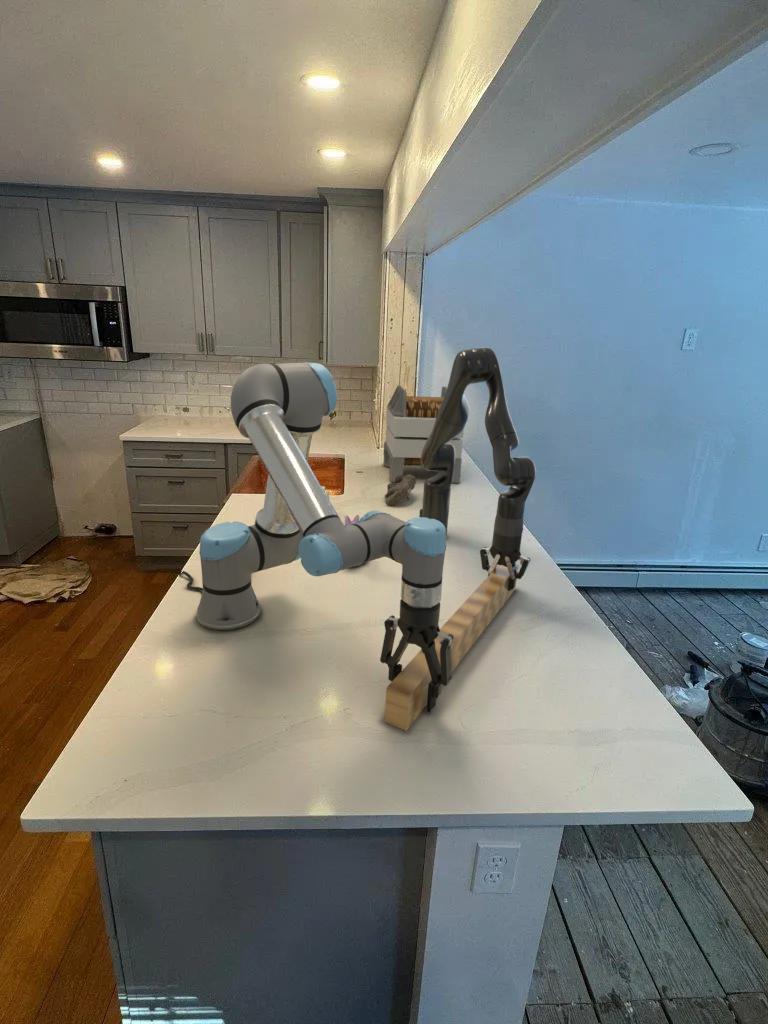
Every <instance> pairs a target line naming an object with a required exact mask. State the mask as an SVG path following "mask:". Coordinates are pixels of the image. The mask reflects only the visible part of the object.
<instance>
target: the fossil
mask: <svg viewBox="0 0 768 1024" xmlns="http://www.w3.org/2000/svg"><path fill="white" fill-rule="evenodd" d="M416 483H417V479H416V476H415V475H412V474H411V473H409V474H406V475H404V474H403V475H397V476H396V478H395V482H389V483H388V484H387V485H386V489H387V491H386V493H385V494H384V498H385V500H384V502H385V504H386V506H396V505H399V504H400V503H402V501H404V500H405V499H406V498H407V499H408V500H409V499H410V498H409V495H410V494H411V492H412V491H413V490H414V489H415V487H416Z"/></svg>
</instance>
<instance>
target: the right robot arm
mask: <svg viewBox="0 0 768 1024" xmlns="http://www.w3.org/2000/svg"><path fill="white" fill-rule="evenodd" d="M480 383H485V384H486V386H487V389H488V396H489V397H488V403H487V408H486V411H485V415H484V416H485V417H484V426H485V431H486V434H487V436H488V439H489V442H490V445H491V448H492V459H493V460H492V461H493V472H494V476H495V478H496V480H497V481H498V482H499V483H500V484H501V485H502V486H506V487H509V488H508V489H506V490H504V491H503V492H501V493H499V495H498V499H497V507H496V514H495V518H494V523H493V531H492V540H491V542H492V543H491V547H487V546H483V547H482V548H481V549H479V555H480V562H481V568H482V570H483V571H487V572H488V574H487V577H488V576H489V575H490V574H491V573H492V572H493V571H494V570H495V569H496V567H497V566H498V565H503V566H505V567H507V568H508V572H509V574H510V579H509V586H508V591H511V590H513V589H514V587H515V583H516V584H517V582H516V579H517V580H521V579H522V578H523V576H524V575H525V573H526V571H527V569H528V566H529V565H530V562H531V558H530V557H525V556H523V555H522V553H521V544H522V536H523V531H524V515H525V507H526V501H527V499H528V497H529V494H530V492H531V490H532V487H533V486H534V482H535V480H536V475H537V469H536V464H535V462H534V460H533V459H531V457H529V456H515V457H512V455H511V452H512V451H514V450H515V449H517V448H518V447H519V445H520V440H519V437H518V434H517V430H516V428H515V426H514V423H513V420H512V417H511V413H510V410H509V407H508V402H507V397H506V392H505V386H504V382H503V376H502V372H501V367H500V362H499V359H498V357H497V354H496V352H495V350H494V349H492V348H491V347H488V346H481V347H474V348H467V349H462V350H460V351H458V353H456V356H455V357H454V360H453V362H452V367H451V371H450V375H449V379H448V384H447V386H446V387H447V390H446V393H445V396H444V399H443V402H442V404H441V406H440V409H439V411H438V414H437V417H436V420H435V423H434V426H433V429H432V431H431V433H430V435H429V437H428V439H427V441H426V443H425V445H424V447H423V450H422V453H421V465H422V466H421V467H422V468H423V470H426V471H428V472H429V471H430V472H438V473H436V474H435V475H433V476H431V477H429V478H427V479H425V480H424V482H423V493H422V496H423V497H422V506H421V508H420V509H419V516H418V518H419V517H425V518H429V519H435V520H438V521H440V522H441V523H442V524H443V525H444V526H445V529H446V539H447V538H448V525H449V517H450V516H449V514H450V504H451V494H452V493H451V491H452V484H453V483H452V479H453V471H454V464H455V449H454V446H453V445H452V444H450V443H447V442H449V441H450V440H452V439H453V438H455V437H456V436H457V435H459V434H460V433H461V432H462V431H463V429H464V430H465V427H466V425H467V423H468V420H469V418H470V416H471V406H470V403H469V401H468V399H467V397H466V395H465V391H466V390H467V388H468V386H470V385H474V384H480ZM344 526H345V524H344ZM489 555H491V557H492V559H493V560H492V562H491V564H490V561H489ZM518 561H519V564H520V569H519V570H518V573H517V571H516V564H517V563H516V562H518Z"/></svg>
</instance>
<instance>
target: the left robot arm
mask: <svg viewBox="0 0 768 1024" xmlns="http://www.w3.org/2000/svg"><path fill="white" fill-rule="evenodd" d="M337 403H338V390H337V386H336V382H335V381H334V377H333V375H332V373H331V372H330V371H329V370H328V368H326V366H324V365H323V364H321V363H318V362H307V361H302V362H285V363H258V364H255V365H252V366H250V367H249V368H247V369H245V370H244V371H243V372H242V373H241V374H240V375H239V376H238V378H237V379H236V381H235V383H234V385H233V388H232V391H231V394H230V412H231V417H232V419H233V422H234V425H235V426H236V428H237V430H238V431H239V433H240V435H242V437H244V438H245V439H249V441H250V443H251V444H252V446H253V448H254V450H255V452H256V454H257V455H258V458H259V459H260V461H261V463H262V465H263V466H264V468H265V470H266V472H267V480H266V487H265V494H264V502H263V508H260V509H259V511H257V512H256V515H255V519H254V520H255V521H254V524H252V525H247V524H246V523H245V522H241V521H232V522H230V521H226V522H220V523H218V524H215V525H213V526H210V527H209V528H207V529H206V530H205V531H204V532H203V533H202V535H201V536H200V539H199V557H200V567H201V579H202V587H200V586H193V585H192V584H193V583H194V578H193V576H192V575H191V574H190V573H188V572H187V571H185V570H180V571H178V573H177V574H178V575H182V574H183V575H185V576H186V577H187V578H188V579H189V581H188V583H187V584H186V588H187V589H190V590H195V591H201V592H202V593H201V596H200V600H199V604H198V606H197V610H196V618H197V622H198V623H199V624H200V626H202V627H204V628H207V629H210V630H214V631H234V630H239V629H242V628H244V627H247V626H249V625H251V624H253V623H254V622H256V621H257V620H258V618H259V617H260V614H261V608H260V603H259V600H258V598H257V596H256V595H257V594H256V593H255V590H254V588H253V585H252V574H254V573H257V572H261V571H264V570H268V569H272V568H277V567H280V566H283V565H289V564H291V563H293V562H295V561H298V560H300V563H301V566H302V568H303V569H304V570H305V572H306V573H308V574H309V575H310V576H313V577H322V576H327V575H332V574H337V573H339V572H340V571H344V570H347V569H349V568H354V567H357V566H356V565H359V564H362V563H363V564H366V563H369V562H373V561H376V560H379V559H382V558H388V559H390V560H392V561H394V562H396V563H397V564H401V566H402V568H401V583H400V584H401V585H400V600H399V618H398V617H395V615H390V616H388V618H387V619H385V621H383V622H384V623H383V624H384V631H385V633H384V638H383V643H382V648H381V654H380V659H379V661H380V662H381V664H385V665H387V667H388V677H387V678H388V681H389V682H392V681H393V680H394V679H395V678H396V677H397V676H398V674H399V673H400V672H401V671H402V670H403V664H401V663H399V662H400V661H401V660H402V657H403V655H404V653H405V652H406V650H407V648H408V646H409V644H410V645H415V646H417V647H419V648H420V650H421V649H422V653H424V655H425V658H426V661H427V665H428V668H429V672H430V675H431V679H432V680H431V681H430V683H429V685H428V697H427V705H426V710H425V711H426V713H429V714H431V712H432V711H433V709H434V708H435V707H436V703H437V699H438V698H439V697H440V696H441V694H442V686H445V687H446V686H447V685H448V684H449V683H450V682H451V680H452V679H453V671H452V659H451V644H452V641H453V638H454V637H453V635H452V634H448V635H445V634H444V633H442V632H440V629H441V627H440V626H439V622H440V613H441V600H442V591H443V590H442V588H443V574H444V563H445V555H446V551H447V538H446V529H445V526H444V525H443V524H442V523H441V522H440V521H438V520H435V519H429V518H425V517H419V516H418V517H413V518H411V519H409V520H407V521H404V520H402V519H400V518H397V517H395V516H394V515H392V514H390V513H387V512H384V511H383V512H382V511H380V510H369V511H368V512H366V513H365V514H363V516H361V517H360V518H359V522H358V523H356V524H352V525H348V526H344V525H345V523H344V522H343V521H342V520H341V518H340V516H339V515H338V513H337V511H336V509H335V508H334V506H333V504H332V502H331V501H330V498H329V499H328V497H327V496H326V494H325V493H326V491H325V492H324V490H323V489H322V487H321V486H322V485H321V484H320V482H319V480H318V478H317V477H316V475H315V473H314V471H313V469H312V468H311V466H310V464H309V463H308V460H309V455H310V451H311V450H310V449H311V446H312V445H311V444H312V439H313V435H314V434H315V433H317V432H318V431H320V429H321V428H322V423H323V422H322V421H323V418H324V417H325V416H329V415H331V414H332V413H333V412H334V411H335V409H336V407H337ZM363 564H362V565H363ZM353 566H354V567H353ZM359 566H360V565H359ZM182 571H183V572H182ZM181 572H182V573H181ZM180 573H181V574H180ZM398 628H399V630H400V632H401V634H402V636H401V638H400V640H399V642H398V645H397V647H396V649H395V650H394V652H393V649H394V644H395V638H396V634H397V629H398ZM436 638H438V640H439V646H441V647H440V663H441V667H440V663H439V660H438V656H437V653H436V649H435V641H434V639H436Z"/></svg>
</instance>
